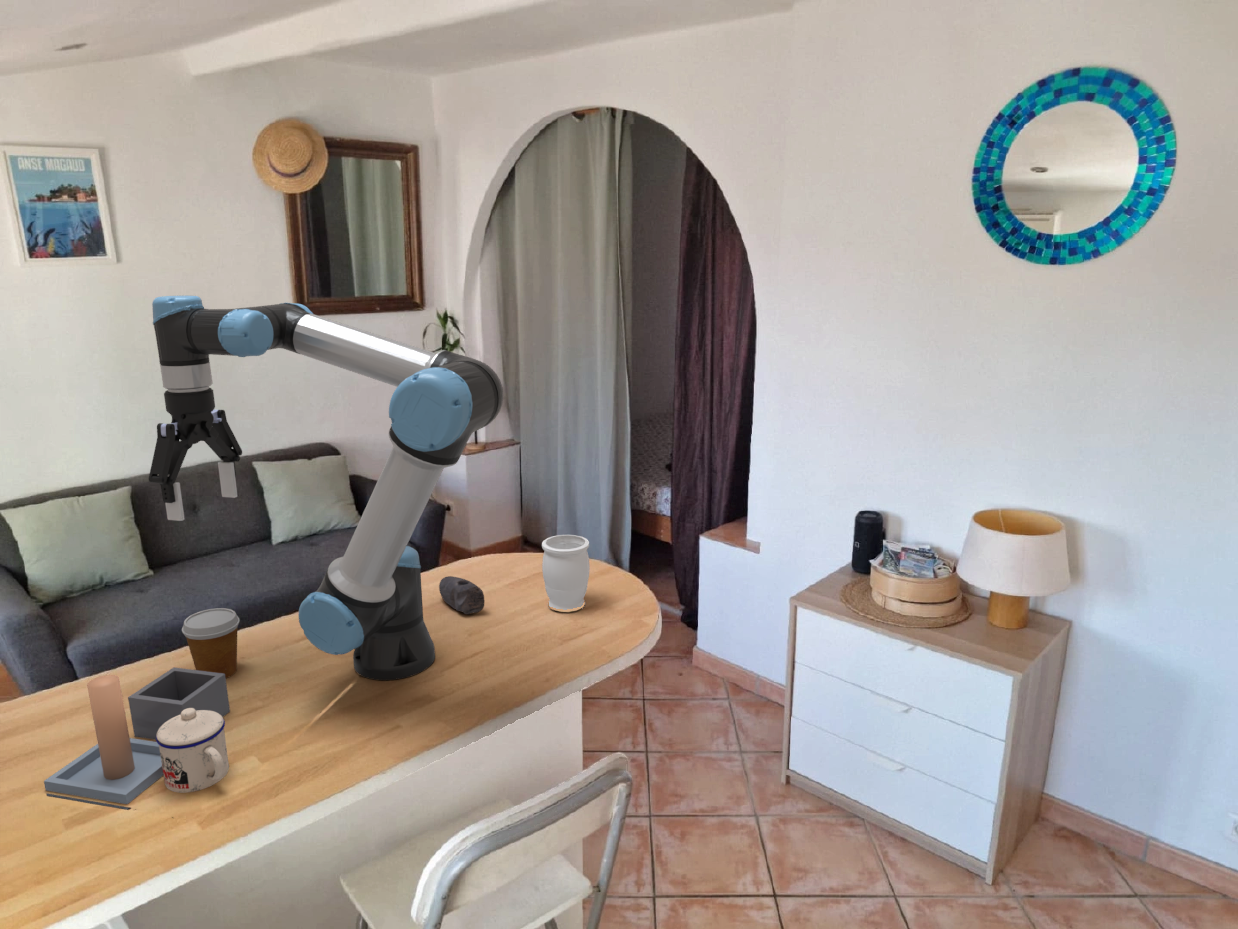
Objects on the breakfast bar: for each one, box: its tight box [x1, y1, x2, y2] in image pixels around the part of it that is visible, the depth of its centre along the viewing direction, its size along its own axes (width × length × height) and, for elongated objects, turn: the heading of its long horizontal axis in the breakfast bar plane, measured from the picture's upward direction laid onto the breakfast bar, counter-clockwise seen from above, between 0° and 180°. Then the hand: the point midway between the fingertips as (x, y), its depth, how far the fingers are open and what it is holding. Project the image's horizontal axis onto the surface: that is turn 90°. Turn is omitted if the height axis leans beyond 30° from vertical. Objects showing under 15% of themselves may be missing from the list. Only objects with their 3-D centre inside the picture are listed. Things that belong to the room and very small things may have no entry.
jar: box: [541, 534, 590, 610], centre depth 183 cm, size 11×10×15 cm
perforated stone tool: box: [438, 575, 486, 615], centre depth 183 cm, size 15×5×7 cm, turn 41°
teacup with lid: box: [155, 708, 230, 793], centre depth 122 cm, size 12×9×12 cm
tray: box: [43, 737, 164, 811], centre depth 125 cm, size 14×12×2 cm
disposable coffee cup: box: [181, 607, 241, 679], centre depth 153 cm, size 10×10×12 cm
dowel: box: [86, 674, 135, 780], centre depth 123 cm, size 4×4×15 cm
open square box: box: [127, 667, 231, 741], centre depth 137 cm, size 10×10×8 cm
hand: (204, 508), depth 146 cm, fingers open, 13 cm apart
